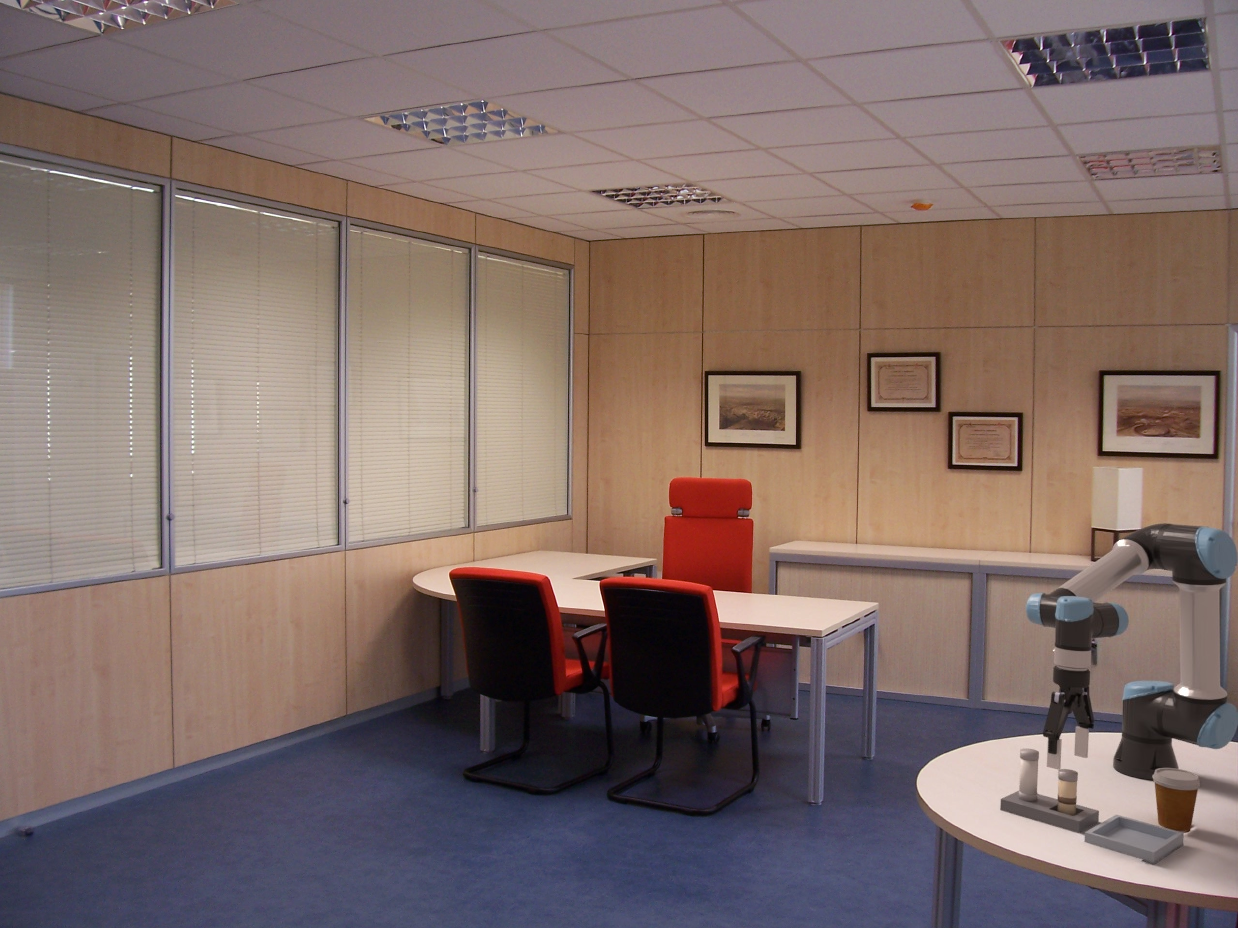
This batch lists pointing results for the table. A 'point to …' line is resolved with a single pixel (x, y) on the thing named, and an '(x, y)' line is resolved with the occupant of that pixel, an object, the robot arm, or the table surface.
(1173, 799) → the disposable coffee cup
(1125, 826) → the parts tray
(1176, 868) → the table surface
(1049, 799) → the grey slotted block
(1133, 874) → the table surface
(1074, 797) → the fuse
